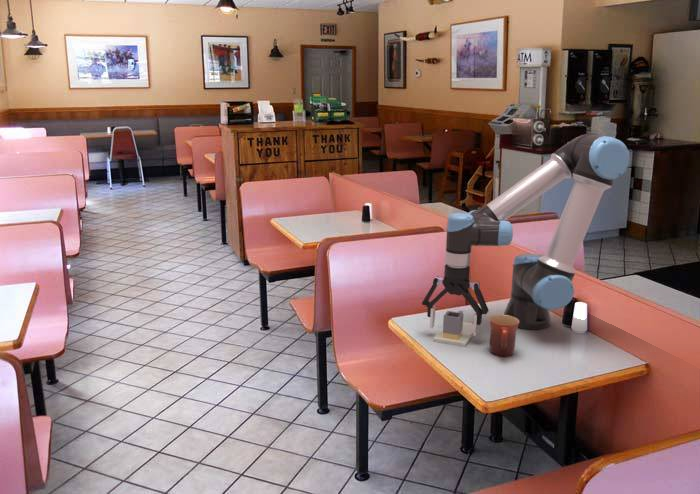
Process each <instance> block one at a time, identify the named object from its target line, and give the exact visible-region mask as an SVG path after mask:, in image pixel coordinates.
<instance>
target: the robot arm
mask: <svg viewBox="0 0 700 494" xmlns="http://www.w3.org/2000/svg"><path fill="white" fill-rule="evenodd" d="M630 157H631V156H630V151H629V149H628V147H627V145H626V144H625V143H624V142H623V141H622V140H620V139H617V138H615V137H613V136H608V135H599V134H594V133H585V134H581V135H579V136H577V137H575V138H573V139H572V140H570V141H568V142H567V143H565V144H564V145H562V146H561V147H560V148H558V149H556V151H554V152H553V153H551V155H550V159H548V160H547V161H546V162H545V163H542V164H541V165H539V167H537V168H536V169H535V170H533V171H531V173H529V174H527V175H526V176H525V177H524V178H523V177H522V179H521V180H519V181H517V182H516V183H515V184H514V185H512V186H510V188H508V189H507V190H505V191H504V192H503V193H501V194H500V195H499V196H497V197H495V198H494V199H492V200H491V201H490V202H489V203H487V204H485V205H484V206H483V207H481V208H480V209H474V210H470V211H469V212H468V213H466V212H465V213H463V212H456V213H451V214H450V215H449V216H448V217H447V224H446V240H445V241H446V242H445V244H446V245H445V257H444V263H445V265H444V274H443V275H444V276H443V278H441V277H440V276H435V277H434V278H433V280H432V286H431V287H430V289H429V291H428V292H427V293H426V295H425V297H424V298H423V300H422V302H421V304H422V306H425V307H427V312H426V313H427V315H426V316H427V318H429V329H432V330H433V328H434V327H435V324H436V323H435V320H436V319H435V318H436V306H435V304H436V303H438V302H439V300H441V298H443V296H445V295H446V294H447V293H448V294H449V295H455V296H460V297H461V296H463V298H464V299H465V300H466V301H467V302H468V304H469V305H470V306H471V308H472V309H473V311H474V312H475V313H474V316H473V317H474V318H473V323H474V328H473V335H472V337H473V336H476V335H478V330H479V329H478V327H479V326H481V324H482V322H483V321H482V320H483V319H482V317H483V315H487V314H488V313H489V307H488V305H487V302H486V300H485V298H484V296H483V293H482V291H481V288H480V282H479V281H476V282H471V281H470V270H471V267H470V264H471V256H472V247H481V246H482V247H502V246H509V245H510V244H511V243H512V242H513V238H514V237H513V236H514V229H513V226H512V223H511V222H510V221H508V219H509V218H511V217H512V216H514V214H516V213H518V212H519V211H520V210H522V209H523V208H524V207H526V206H528V205H529V204H531V203H532V202H533V201H534V200H536V199H537V198H539V197H541V196H542V195H543V194H545V192H547V191H549V190H550V189H551V188H553V187H555V186H556V185H557V184H559V183H561V182H562V181H563V180H564V179H569V180H570V179H571V178H573V179H574V183H573V186H572V188H571V191H570V194H569V195H568V199H567V202H566V203H565V206H564V209H563V211H562V212H561V215H560V218H559V221H558V223H557V226H556V228H555V231H554V233H553V236H552V238H551V240H550V243H549V245H548V248H547V250H546V253H545V254H536V253H535V254H534V253H533V254H532V253H524V254H517V255H516V256H515V257H514V259H513V264H512V277H511V290H510V298H509V300H508V303H507V305H506V307H505V310H504V312H503V315H508V316H512V317H515V318H517V319H518V320H519V321H520V323H519V325H518V327H517V329H518V328H519V329H523V330H524V329H525V330H543V329H546V328H549V326H550V325H551V315H550V311H557V310H560V309H562V308H564V307H566V306H567V305H568V304H569V303H570V302H571V301H572V300H573V297H574V294H575V287H574V284H573V279H574V277H575V274H576V269H575V268H574V264H575V261H576V259H577V256H578V253H579V251H580V249H581V247H582V245H583V241H584V239H585V237H586V234H587V232H588V230H589V227H590V226H591V223H592V220H593V218H594V215H595V213H596V210H597V209H598V206H599V204H600V201H601V198H602V196H603V194H604V192H605V191H606V190H609V189H610V188H612V187H613V184H614V182H615V180H616V179H618V178H619V177H620V176H623V174H624V173H625V172H626V171H627V169H628V167H629V165H630ZM441 284H442V285H443V286H444V288H443V290H442V291H440V293H439V294H437V295H436V296H435V297H434V298H433V299H432V300H431V301H430V299H431V297H432V296H433V294H434V292H435V291H436V290H437V288H438V286H440V285H441ZM470 287H471V289H472V290H473V291H474V294H475V298H476V299H477V301H476V300H475V299H474V297H473V295H472V294H471V292H470V291H469V288H470ZM477 302H478V303H477Z"/></svg>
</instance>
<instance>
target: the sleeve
mask: <svg viewBox="0 0 700 494" xmlns="http://www.w3.org/2000/svg"><path fill="white" fill-rule="evenodd" d="M442 320H443V322H442V323H443V324H442V326H443V336H442V337H444V338H450V339H456V340H459V338H460V337H461V335H462V328H463V322H464V312H463V313H459V312H458V311H451V310H447V311H446V312H445V314H443V319H442Z"/></svg>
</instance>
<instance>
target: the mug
mask: <svg viewBox="0 0 700 494" xmlns="http://www.w3.org/2000/svg"><path fill="white" fill-rule="evenodd" d="M488 321H489V325H490V334H489V335H490V336H489V345H488V346H489V351H490V353H492V354H494V355H495V354H496V356H498V355H499V356H498V357H509V356H511V355H514V352H515V349H516V340H517V339H516V335H517V330H518V325H519V323H520V321H519V320H518V319H517V318H515V317H512V316H508V315H504V314H494V315H493V314H492V315H490V316H489V318H488Z"/></svg>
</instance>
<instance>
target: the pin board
mask: <svg viewBox="0 0 700 494" xmlns="http://www.w3.org/2000/svg"><path fill="white" fill-rule="evenodd" d="M457 312H459V313H463V314H464V311H463V310H458V311H457ZM473 328H474V322H467V321H463V328H462V335H461V337H460V338H459V340H456V339H450V338H444V337H442V336H443V325H442V327H440V329H439V330H438V332H436V334H435V336H434V337H433V338H432V340H433V342H435V343H441V344H448V345H453V346H458V347H463V348H464V347H465V348H466V346H467V345H468V344H469V342H470V341H471V339H472V338H473Z"/></svg>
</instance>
